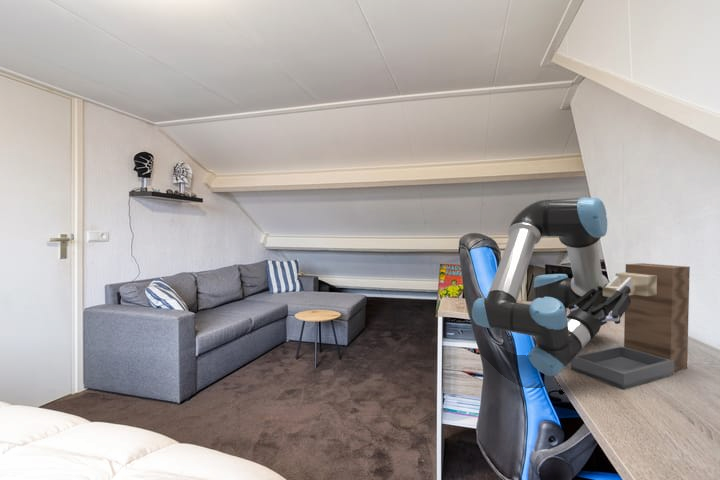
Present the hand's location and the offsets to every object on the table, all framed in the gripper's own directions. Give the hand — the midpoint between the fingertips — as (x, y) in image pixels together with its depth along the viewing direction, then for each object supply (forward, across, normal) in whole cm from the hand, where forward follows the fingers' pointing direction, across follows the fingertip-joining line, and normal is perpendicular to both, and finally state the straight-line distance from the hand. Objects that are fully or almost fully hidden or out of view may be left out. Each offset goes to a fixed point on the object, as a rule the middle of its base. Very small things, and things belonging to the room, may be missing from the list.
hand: (624, 280), depth 99 cm
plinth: (+1, 0, -31) cm, 31 cm away
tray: (-14, 0, -22) cm, 26 cm away
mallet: (-2, 0, -3) cm, 4 cm away
